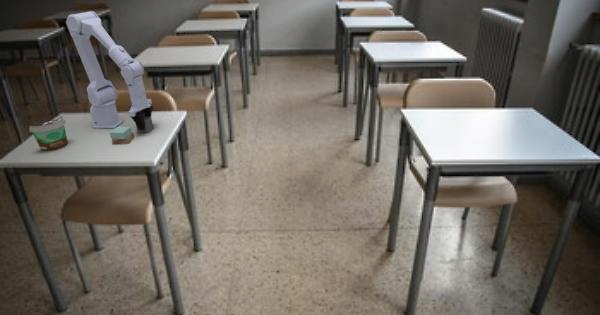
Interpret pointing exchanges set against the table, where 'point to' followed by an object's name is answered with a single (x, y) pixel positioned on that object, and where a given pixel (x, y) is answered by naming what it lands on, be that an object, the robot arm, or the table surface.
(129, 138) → the walnut slab
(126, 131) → the teal slab
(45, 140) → the food container
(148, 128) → the charcoal block
